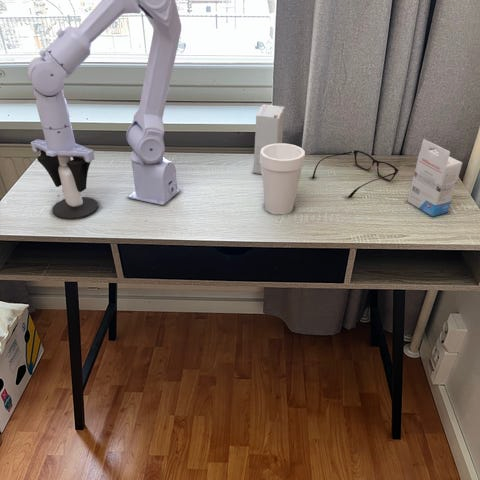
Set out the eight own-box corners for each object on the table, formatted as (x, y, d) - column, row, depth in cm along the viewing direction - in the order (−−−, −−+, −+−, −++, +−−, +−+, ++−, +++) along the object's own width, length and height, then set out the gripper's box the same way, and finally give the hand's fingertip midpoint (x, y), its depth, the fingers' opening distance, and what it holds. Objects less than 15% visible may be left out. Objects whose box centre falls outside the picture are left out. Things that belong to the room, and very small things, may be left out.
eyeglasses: (399, 184, 123) (403, 169, 121) (353, 201, 116) (356, 185, 114) (352, 162, 133) (354, 147, 131) (307, 176, 127) (308, 160, 124)
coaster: (107, 203, 115) (106, 201, 115) (80, 223, 108) (79, 221, 108) (71, 195, 118) (71, 193, 118) (43, 214, 111) (42, 212, 111)
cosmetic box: (259, 161, 134) (261, 103, 124) (281, 163, 133) (285, 105, 123) (253, 174, 127) (254, 114, 118) (276, 176, 126) (279, 116, 117)
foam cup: (271, 221, 109) (274, 163, 100) (251, 203, 115) (252, 148, 107) (307, 211, 112) (313, 155, 104) (286, 195, 118) (290, 140, 110)
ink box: (449, 212, 112) (468, 148, 103) (432, 217, 110) (450, 152, 101) (423, 197, 118) (439, 134, 109) (406, 201, 116) (421, 138, 107)
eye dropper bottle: (86, 195, 114) (75, 143, 106) (81, 207, 110) (70, 154, 102) (66, 196, 114) (54, 144, 106) (61, 207, 109) (48, 154, 102)
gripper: (14, 125, 100) (32, 188, 109) (73, 136, 96) (87, 201, 105) (38, 115, 105) (53, 176, 114) (95, 124, 101) (106, 187, 110)
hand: (70, 187), depth 110 cm, fingers closed on eye dropper bottle, 5 cm apart
